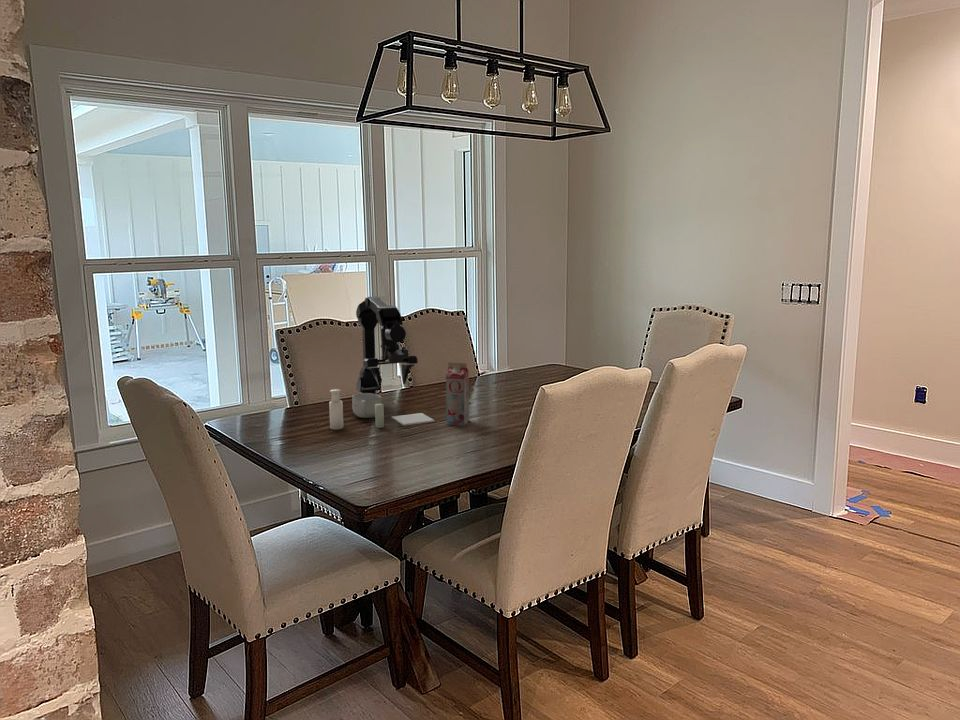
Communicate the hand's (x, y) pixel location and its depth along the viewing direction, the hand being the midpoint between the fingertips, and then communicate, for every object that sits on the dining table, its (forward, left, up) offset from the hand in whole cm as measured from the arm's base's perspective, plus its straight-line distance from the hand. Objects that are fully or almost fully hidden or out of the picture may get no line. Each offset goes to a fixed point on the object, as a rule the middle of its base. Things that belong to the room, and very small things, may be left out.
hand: (391, 385), depth 272 cm
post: (+3, -6, -14) cm, 15 cm away
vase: (-3, -20, -14) cm, 24 cm away
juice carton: (+10, +21, -14) cm, 27 cm away
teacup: (-13, -6, -14) cm, 20 cm away
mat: (-1, +8, -14) cm, 16 cm away
